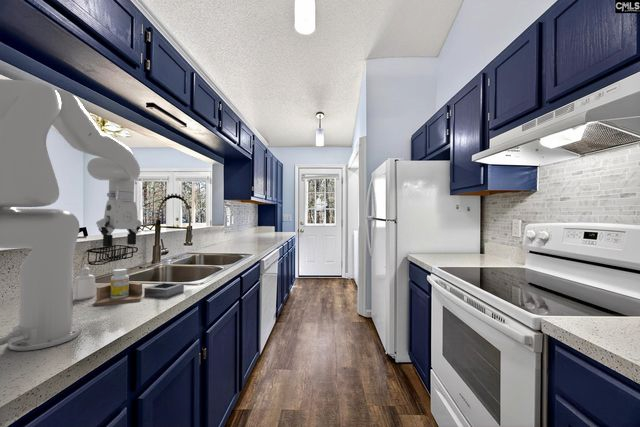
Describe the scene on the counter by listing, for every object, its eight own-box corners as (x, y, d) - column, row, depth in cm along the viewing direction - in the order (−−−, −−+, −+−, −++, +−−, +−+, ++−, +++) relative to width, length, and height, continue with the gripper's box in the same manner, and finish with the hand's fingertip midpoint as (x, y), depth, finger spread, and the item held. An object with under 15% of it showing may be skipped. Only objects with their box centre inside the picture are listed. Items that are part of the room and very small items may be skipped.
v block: (141, 301, 102) (141, 286, 102) (93, 306, 96) (93, 291, 96) (143, 292, 113) (143, 279, 113) (100, 297, 107) (100, 283, 107)
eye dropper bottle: (93, 298, 105) (94, 265, 105) (73, 300, 102) (74, 266, 102) (95, 295, 108) (96, 263, 108) (76, 297, 106) (76, 264, 106)
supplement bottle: (125, 298, 102) (126, 270, 102) (107, 299, 101) (108, 271, 101) (130, 294, 107) (131, 268, 107) (113, 295, 106) (114, 268, 106)
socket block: (166, 297, 107) (166, 289, 107) (144, 296, 109) (144, 288, 109) (183, 291, 116) (183, 283, 116) (162, 289, 118) (163, 282, 118)
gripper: (108, 195, 95) (106, 247, 94) (149, 199, 112) (148, 244, 111) (89, 195, 96) (87, 247, 96) (132, 199, 113) (131, 243, 113)
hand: (120, 245), depth 104 cm, fingers open, 9 cm apart
